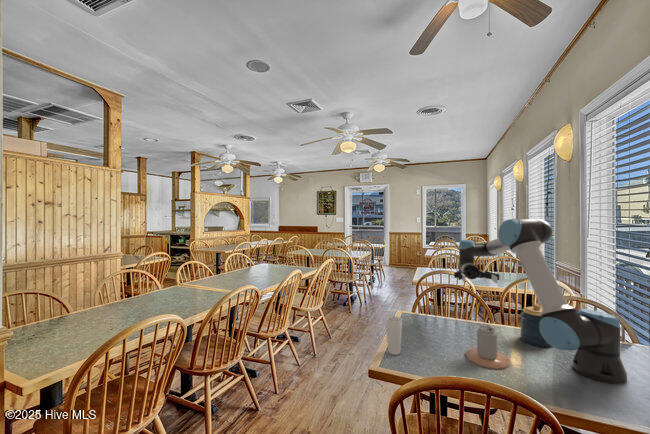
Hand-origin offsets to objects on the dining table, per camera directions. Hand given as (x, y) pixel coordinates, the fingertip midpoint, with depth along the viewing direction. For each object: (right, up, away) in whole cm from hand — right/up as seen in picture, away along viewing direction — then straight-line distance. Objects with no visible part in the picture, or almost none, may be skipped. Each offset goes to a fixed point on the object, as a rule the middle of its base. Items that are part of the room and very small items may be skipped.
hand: (480, 279), depth 137 cm
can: (-5, -29, -15) cm, 33 cm away
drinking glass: (-42, -31, -8) cm, 53 cm away
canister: (+28, -30, +1) cm, 41 cm away
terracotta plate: (-5, -30, -15) cm, 34 cm away
